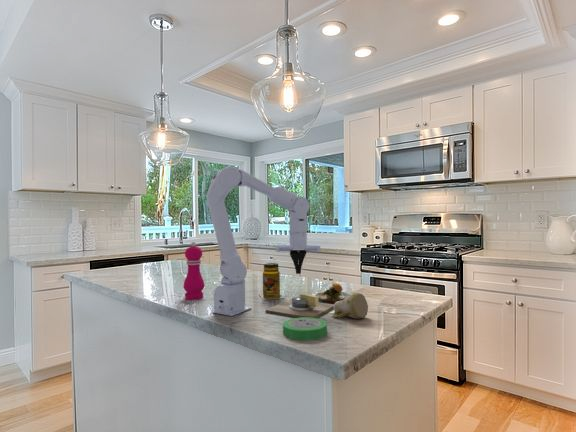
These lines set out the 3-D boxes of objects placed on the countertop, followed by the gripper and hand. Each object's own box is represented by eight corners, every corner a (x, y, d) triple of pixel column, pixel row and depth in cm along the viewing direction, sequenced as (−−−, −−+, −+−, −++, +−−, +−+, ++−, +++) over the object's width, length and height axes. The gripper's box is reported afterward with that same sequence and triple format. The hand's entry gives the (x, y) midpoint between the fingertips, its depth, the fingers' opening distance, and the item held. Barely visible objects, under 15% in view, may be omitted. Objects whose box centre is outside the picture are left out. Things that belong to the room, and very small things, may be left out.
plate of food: (325, 295, 135) (325, 274, 135) (355, 298, 129) (355, 277, 129) (309, 302, 125) (309, 280, 125) (342, 306, 119) (341, 283, 119)
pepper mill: (199, 300, 127) (198, 242, 126) (179, 300, 128) (179, 242, 128) (207, 296, 134) (207, 241, 134) (189, 295, 135) (188, 241, 135)
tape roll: (274, 336, 91) (274, 325, 91) (297, 324, 101) (297, 314, 100) (313, 344, 85) (312, 333, 85) (334, 331, 94) (334, 321, 94)
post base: (312, 320, 103) (312, 316, 103) (265, 312, 111) (265, 308, 111) (335, 307, 117) (335, 303, 117) (292, 301, 125) (292, 297, 125)
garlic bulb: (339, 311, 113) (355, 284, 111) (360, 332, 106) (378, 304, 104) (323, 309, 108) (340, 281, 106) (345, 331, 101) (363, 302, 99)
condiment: (264, 300, 127) (263, 265, 127) (258, 295, 135) (258, 262, 135) (284, 298, 129) (284, 264, 129) (277, 293, 137) (277, 261, 137)
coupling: (287, 305, 114) (287, 294, 114) (300, 301, 118) (300, 290, 118) (310, 310, 108) (310, 298, 108) (322, 306, 112) (322, 294, 112)
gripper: (274, 233, 119) (275, 275, 119) (319, 233, 117) (319, 275, 118) (277, 232, 126) (278, 271, 126) (320, 231, 124) (320, 272, 125)
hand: (298, 273), depth 122 cm, fingers closed
